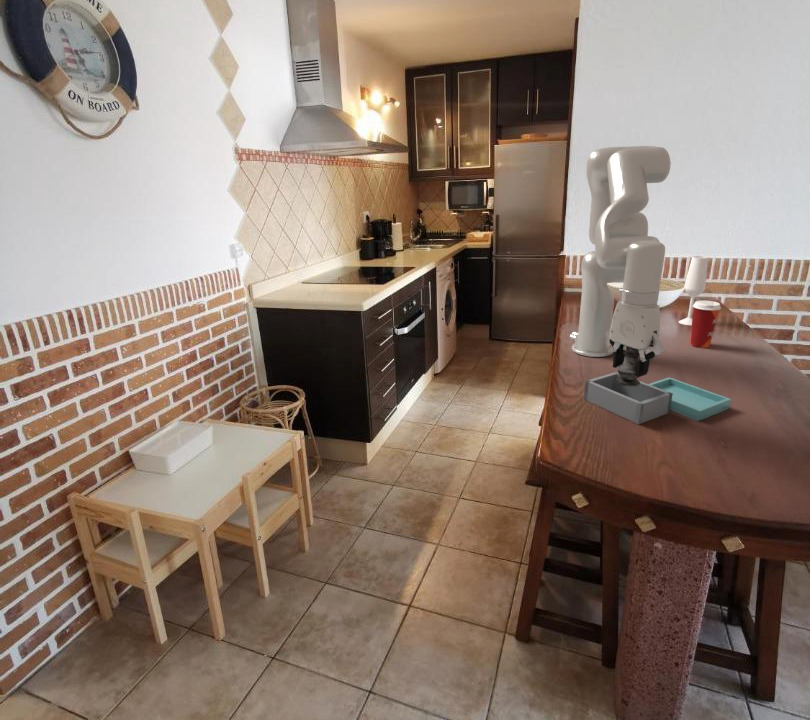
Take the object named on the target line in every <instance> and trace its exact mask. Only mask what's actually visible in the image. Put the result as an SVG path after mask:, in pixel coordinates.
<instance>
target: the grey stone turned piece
mask: <svg viewBox="0 0 810 720" xmlns="http://www.w3.org/2000/svg"><path fill="white" fill-rule="evenodd" d="M624 354H625V357H624V362H623V364H620V365H618V366H617V368H616V369H617V372H618V374H619V375H620V378H618V379H617V380H616V382H617V383H619V384H621V385H624V386H630V387H632V386H638V385H640V382H639V381H640V380H639V381H638V378H640V377H637V376H636V370H637V363H638V361H639V357H640V354H639V350H637V349H634V348H631V347H628V346H625V352H624Z"/></svg>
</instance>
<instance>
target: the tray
mask: <svg viewBox="0 0 810 720" xmlns="http://www.w3.org/2000/svg"><path fill="white" fill-rule="evenodd" d="M648 384H649V385H652V386H654V387H657V388H660V389H662V390H665V391H667V392H670V393H673V395H672V401H671V407H670V411H672V412H675V413H678V414H680V415H682V416H684V417H687V418H690V419H691V420H693V421H697V422H700V421H701V420H705V419H707V418H709V417H711V416H715V415H717V414H719V413H721V412H724V411H727V410H729V409H730V407H731V406H730V405H731V402H732V399H731V398H729V397H726V396H723V395H720V394H718V393H715V392H713V391H709V390H706V389H703V388H700V387H698V386H696V385H692V384H689V383H687V382H683V381H681V380H678V379H675V378H672V377H666V378H663V379H660V380H656V381H654V382H651V383H648Z"/></svg>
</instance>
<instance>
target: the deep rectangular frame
mask: <svg viewBox="0 0 810 720" xmlns="http://www.w3.org/2000/svg"><path fill="white" fill-rule="evenodd" d="M618 378H620V375H619V374H618V371H614V372H611V373H608V374H604V375H601V376H597V377H594V378H591V379H588V380H585V384H584V385H585V386H584V394H583V395H584V396H583V400H584V401H586V402H589V403H591V404H593V405H595V404H596V405H595V406H598V407H600V408H602V409H604V410H606V411H608V412H611V413H612V414H615V415H617V416H619V417H621V418H623V419H626V420H628V421H629V422H633V423H634V424H635V425H640V424H644V423H645V422H648V421H651V420H654V419H656V418H657V419H658V418H659V417H662V416H664V415H668V414H670V411H671V410H670V407H671V401H672V395H673V393H670V392H667V391H665V390H662V389H660V388H657V387H654V386H652V385H649V384H650V383H647V382H644V381H641V380H638V379H637V380H638V381H639V382H640V385H638V386H632V387H630V386H624V385H621V384H619V383H617V382H616V380H617V379H618Z"/></svg>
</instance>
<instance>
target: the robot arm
mask: <svg viewBox="0 0 810 720" xmlns="http://www.w3.org/2000/svg"><path fill="white" fill-rule="evenodd" d="M671 165H672V164H671V157H670V154H669V152H668V151H667V149H666V148H664V147H662V146H661V147H660V146H656V145H655V146H654V145H639V146H638V145H636V146H612V147H611V146H609V147H603V148H598V149H596V150H594V151H592V152H591V153H590V154H589V155H588V158H587V161H586V179H587V182H588V186H589V191H590V196H591V198H590V199H591V200H590V201H591V203H590V214H589V224H588V225H589V229H588V237H589V238H588V239H589V241H590V243H591V244H592V245H594V250H593V251H590V252H587V253H585V255H583V257H582V259H581V263H580V265H581V266H580V267H581V269H580V271H581V299H580V307H579V308H580V311H579V320H578V331H575V330H574V331H572V333H571V334H570V335H569V338H570V339H571V340H574V343H573V344H572V345H571V350H572V352H574V353H575V354H578V355H581V356H585V357H592V358H603V357H608V356H609V357H610V356H612V354H613V361H612V367H613V368H614V369H617V366H618V365H620V364H623V362H624V357H625V354H624V352H625V351H626V349H624V348H626V346H628V347H631V348H634V349H637V350H639V354H640V356H639V357H640V359H638V363H637V370H636V376H637V377H639V378H641V377H644V376H646V375H648V372H649V369H650V362H651V360H653V359H654V358H655V357H657V356H658V355H660V354H662V353H664V352H665V351H666V348H665V346H664V345H663V343H662V342H661V340H660V329H661V328H660V327H661V309H660V305H659V304H658V301H659V295H660V288H661V281H662V274H663V268H664V262H665V255H666V246H665V244H663V242H661V241H660V240H659V238H658V237H655V236H652V235H650V236H649V222H648V218H647V216H646V215H645V214H644V213H642V211H643V210H644V209H645V208H646V207H647V205H648V203H649V200H650V199H649V192H648V184H659V183H663V182H664V181H665V180H666V179H667V178H668V176H669V175H670V170H671ZM613 283H621V284H622V283H623V285H622V287H621V288H619V290H618V293H619V294H620V295H621V299H619V300H618V301H617V302H616V305H615V297H614V296H615V295H614V293H613V292H612V290H611V289H610V288H609V286H608V284H613ZM614 306H615V309H614ZM652 348H654V349H653V350H652Z"/></svg>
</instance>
